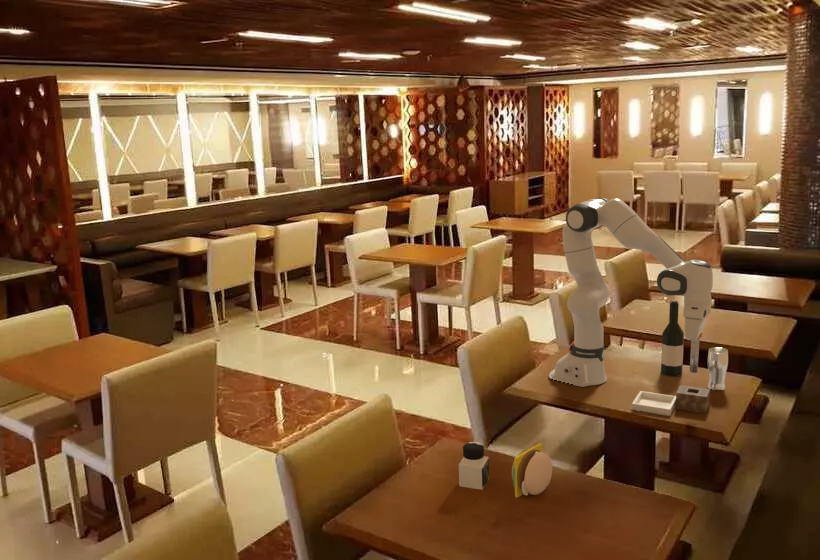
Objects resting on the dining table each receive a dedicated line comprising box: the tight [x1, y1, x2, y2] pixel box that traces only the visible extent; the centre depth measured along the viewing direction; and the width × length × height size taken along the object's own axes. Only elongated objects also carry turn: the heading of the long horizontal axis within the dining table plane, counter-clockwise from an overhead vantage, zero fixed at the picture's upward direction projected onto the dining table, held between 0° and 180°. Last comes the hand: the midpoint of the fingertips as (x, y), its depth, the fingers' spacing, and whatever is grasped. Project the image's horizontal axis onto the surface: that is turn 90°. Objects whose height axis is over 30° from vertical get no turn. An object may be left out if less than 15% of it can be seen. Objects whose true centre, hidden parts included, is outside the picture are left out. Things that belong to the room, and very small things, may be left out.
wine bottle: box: [660, 299, 685, 377], centre depth 283 cm, size 8×8×30 cm
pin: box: [689, 332, 703, 374], centre depth 248 cm, size 4×4×14 cm
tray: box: [631, 390, 676, 417], centre depth 254 cm, size 13×13×2 cm
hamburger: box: [511, 442, 553, 498], centre depth 200 cm, size 12×8×12 cm
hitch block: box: [675, 384, 711, 414], centre depth 252 cm, size 10×8×6 cm
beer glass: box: [707, 346, 729, 391], centre depth 267 cm, size 7×7×15 cm
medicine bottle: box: [458, 441, 490, 491], centre depth 206 cm, size 7×7×12 cm
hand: (694, 345), depth 248 cm, fingers closed on pin, 3 cm apart
